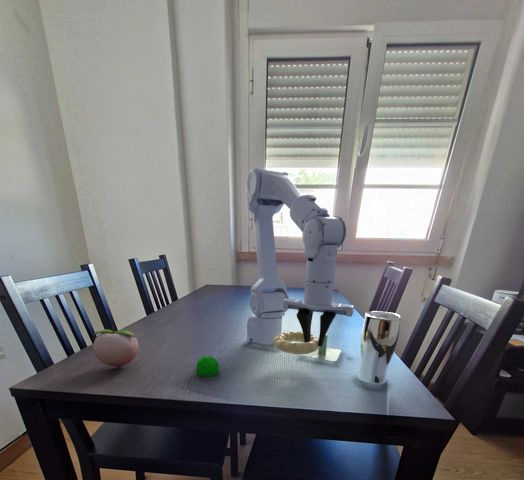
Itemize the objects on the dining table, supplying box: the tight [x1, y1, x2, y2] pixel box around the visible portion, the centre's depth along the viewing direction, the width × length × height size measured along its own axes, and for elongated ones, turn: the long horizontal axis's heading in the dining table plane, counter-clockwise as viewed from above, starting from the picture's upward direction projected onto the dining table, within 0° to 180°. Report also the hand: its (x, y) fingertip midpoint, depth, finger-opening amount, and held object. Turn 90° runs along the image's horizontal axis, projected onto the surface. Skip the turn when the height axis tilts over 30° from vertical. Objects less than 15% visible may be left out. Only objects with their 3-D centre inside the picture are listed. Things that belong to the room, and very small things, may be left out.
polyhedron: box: [195, 355, 220, 378], centre depth 61 cm, size 5×5×5 cm
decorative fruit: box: [92, 325, 140, 368], centre depth 63 cm, size 9×8×10 cm
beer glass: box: [357, 310, 402, 386], centre depth 58 cm, size 7×7×15 cm
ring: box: [273, 331, 320, 355], centre depth 64 cm, size 10×10×2 cm
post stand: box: [300, 333, 343, 363], centre depth 73 cm, size 9×9×6 cm
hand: (313, 343), depth 62 cm, fingers closed on ring, 2 cm apart
